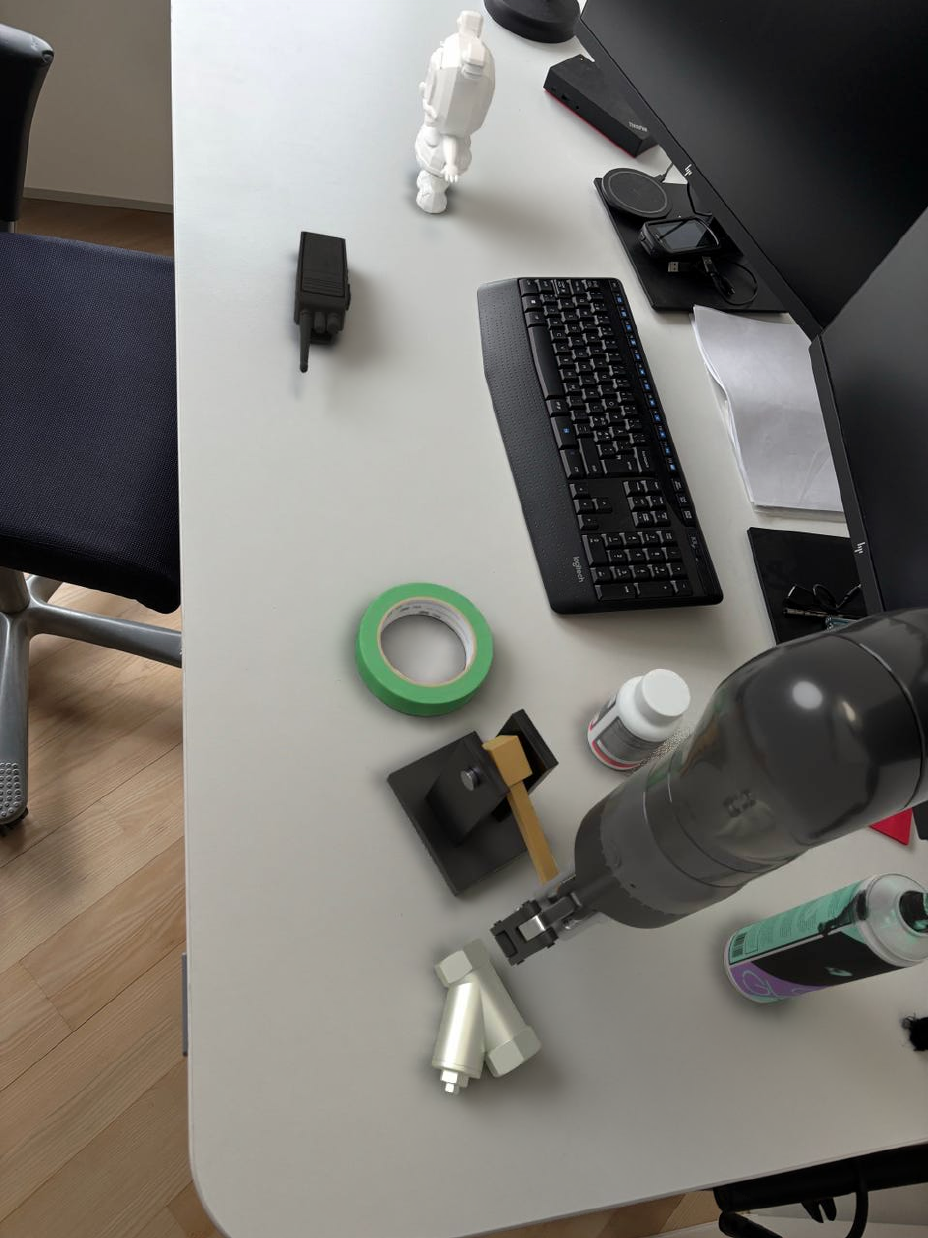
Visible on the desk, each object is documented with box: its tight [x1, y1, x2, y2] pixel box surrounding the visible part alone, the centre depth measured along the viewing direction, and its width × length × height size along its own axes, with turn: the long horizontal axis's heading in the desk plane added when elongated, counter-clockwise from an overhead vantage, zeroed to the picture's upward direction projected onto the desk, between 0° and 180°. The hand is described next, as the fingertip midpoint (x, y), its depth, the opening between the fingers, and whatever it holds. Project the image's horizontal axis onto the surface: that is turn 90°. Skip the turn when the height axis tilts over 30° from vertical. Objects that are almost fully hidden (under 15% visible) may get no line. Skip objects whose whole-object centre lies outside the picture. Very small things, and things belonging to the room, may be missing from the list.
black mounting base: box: [386, 708, 559, 896], centre depth 65 cm, size 10×8×13 cm
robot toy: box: [414, 9, 496, 214], centre depth 98 cm, size 8×20×19 cm, turn 2°
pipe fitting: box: [431, 938, 542, 1095], centre depth 61 cm, size 8×4×7 cm
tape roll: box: [354, 582, 494, 717], centre depth 75 cm, size 11×11×3 cm
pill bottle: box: [587, 668, 692, 771], centre depth 73 cm, size 5×5×10 cm
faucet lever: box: [482, 735, 565, 927], centre depth 61 cm, size 13×5×2 cm, turn 33°
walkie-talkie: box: [293, 230, 352, 374], centre depth 89 cm, size 6×6×20 cm
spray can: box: [723, 871, 928, 1004], centre depth 62 cm, size 6×6×20 cm
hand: (564, 905), depth 61 cm, fingers open, 8 cm apart
